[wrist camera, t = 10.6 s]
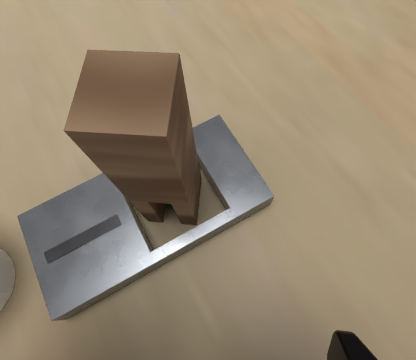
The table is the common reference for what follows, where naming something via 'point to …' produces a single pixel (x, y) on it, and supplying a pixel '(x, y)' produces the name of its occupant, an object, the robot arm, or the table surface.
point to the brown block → (139, 129)
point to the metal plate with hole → (129, 227)
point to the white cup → (6, 278)
